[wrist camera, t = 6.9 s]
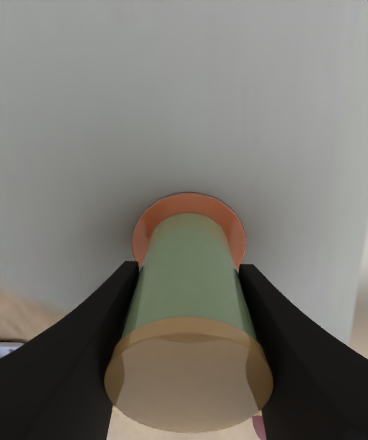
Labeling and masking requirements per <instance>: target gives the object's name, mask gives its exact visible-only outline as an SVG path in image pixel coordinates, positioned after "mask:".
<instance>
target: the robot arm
mask: <svg viewBox="0 0 368 440" xmlns="http://www.w3.org/2000/svg"><path fill="white" fill-rule="evenodd" d="M138 275H139V263H138V261H125V262H124V263H123V264H122V265H121V266H120V267H119V268H118V269H117V270H116V271H115V272H114V273H113V274H112V275H111V276H110V277H109V278H108V279H107V280H106V281H105V282H104V283H103V284H102V285H101V286H100V287H99V288H98V289H97V290H96V291H95V292H94V293H93V294H91V295H90V296H89V297H88V298H87V299H86V300H85V301H84V302H82V303H81V304H80V305H79V306H78V307H77V308H75V309H74V310H73V311H72V312H70V313H69V314H68V315H66V316H65V317H64V318H62V319H61V320H60V321H58V322H57V323H56V324H54V325H53V326H51V327H50V328H48V329H47V330H45V331H44V332H42V333H41V334H39V335H38V336H36V337H35V338H33V339H32V340H30V341H29V342H27V343H25V344H24V343H13V342H0V440H106V439H107V433H108V428H109V423H110V418H111V413H112V408H113V403H112V402H111V401H110V399H109V397H108V395H107V393H106V390H105V385H104V375H105V371H106V368H107V365H108V362H109V358H110V356H111V353H112V351H113V349H114V347H115V346H116V345H117V344H118V341H119V337H120V334H121V331H122V328H123V324H124V321H125V318H126V314H127V311H128V308H129V305H130V301H131V298H132V295H133V291H134V288H135V285H136V282H137V278H138ZM238 276H239V279H240V282H241V285H242V289H243V292H244V295H245V299H246V302H247V305H248V308H249V312H250V315H251V318H252V321H253V325H254V328H255V331H256V335H257V338H258V341H259V344H260V346H261V347H262V349H263V350H264V352H265V354H266V356H267V358H268V362H269V365H270V368H271V371H272V375H273V384H274V385H273V391H272V394H271V397H270V399H269V401H268V402H267V404H266V405H265V406H264V407H263V408H262V409H261V412H262V417H263V423H264V428H265V434H266V440H368V359H366V358H365V357H363V356H362V355H360V354H358V353H357V352H355V351H354V350H352V349H351V348H350V347H348V346H347V345H345V344H344V343H342V342H341V341H339V340H338V339H336V338H335V337H333V336H332V335H331V334H329V333H328V332H327V331H325V330H324V329H323V328H321V327H320V326H319V325H317V324H316V323H315V322H314V321H312V320H311V319H310V318H309V317H307V316H306V315H305V314H304V313H303V312H301V311H300V310H299V309H298V308H297V307H296V306H295V305H293V304H292V303H291V302H290V301H289V300H288V299H287V298H286V297H285V296H284V295H283V294H282V293H281V292H279V291H278V290H277V289H276V288H275V287H274V286H273V285H272V284H271V283H270V281H269V280H268V279H267V278H266V277H265V276H264V275H263V274H262V273H261V272H260V271H259V270H258V269H257V268H256V267H255V266H254V265H253V264H240V267H239V273H238Z"/></svg>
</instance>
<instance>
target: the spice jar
mask: <svg viewBox="0 0 368 440" xmlns="http://www.w3.org/2000/svg"><path fill="white" fill-rule="evenodd" d="M104 385H105V390H106V393H107V395H108V397H109V399H110V401H111V402H112V403H113V404H114V406H115V407H116V408H117V409H118V410H119V411H121V412H122V413H123V414H125V415H126V416H128V417H129V418H131V419H133V420H135V421H137V422H139V423H141V424H144V425H146V426H149V427H152V428H156V429H160V430H165V431H171V432H180V433H201V432H210V431H217V430H221V429H225V428H229V427H232V426H235V425H237V424H240V423H242V422H244V421H246V420H248V419H249V418H251V417H253V416H254V415H255V414H257V413H258V412H259V411H260V410H261V409H262V408H263V407H264V406H265V405H266V404H267V402H268V401H269V399H270V397H271V394H272V391H273V385H274V384H273V375H272V371H271V368H270V365H269V362H268V358H267V356H266V354H265V352H264V350H263V349H262V347H261V346H260V344H259V341H258V338H257V335H256V331H255V328H254V325H253V321H252V318H251V315H250V312H249V308H248V305H247V302H246V299H245V295H244V292H243V289H242V285H241V282H240V279H239V276H238V272H237V269H236V266H235V262H234V259H233V256H232V253H231V249H230V246H229V243H228V240H227V236H226V234H225V232H224V231H223V229H222V228H221V227H220V225H219V224H217V223H216V222H215V221H214V220H212V219H211V218H209V217H206V216H204V215H201V214H196V213H180V214H176V215H173V216H170V217H168V218H166V219H165V220H163V221H162V222H160V223H159V224H158V225H157V226H156V227H155V229H154V230H153V232H152V234H151V236H150V239H149V242H148V245H147V249H146V252H145V255H144V259H143V262H142V265H141V268H140V272H139V275H138V278H137V282H136V285H135V288H134V291H133V295H132V298H131V301H130V305H129V308H128V311H127V314H126V318H125V321H124V324H123V328H122V331H121V334H120V337H119V341H118V344H117V345H116V346H115V347H114V349H113V351H112V353H111V356H110V358H109V362H108V365H107V368H106V371H105V375H104Z"/></svg>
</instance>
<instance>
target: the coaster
mask: <svg viewBox="0 0 368 440" xmlns="http://www.w3.org/2000/svg"><path fill="white" fill-rule="evenodd" d="M180 213H196V214H201V215H204V216H206V217H209V218H211V219H212V220H214V221H215V222H216V223H217V224H219V225H220V227H221V228H222V229H223V231H224V232H225V234H226V236H227V240H228V243H229V246H230V249H231V253H232V256H233V259H234V262H235V266H236V269H238V268H239V266H240V264H241V263H242V260H243V258H244V254H245V250H246V236H245V232H244V229H243V226H242V224H241V222H240V220H239V218H238V217H237V215H236V214H235V213H234V212H233V210H232V209H230V208H229V207H228V206H227V205H226V204H224V203H223V202H221V201H220V200H218V199H216V198H214V197H211V196H208V195H205V194H200V193H178V194H173V195H170V196H167V197H164V198H162V199H160V200H158V201H157V202H155V203H153V204H152V205H151V206H150V207H148V208H147V209H146V211H145V212H144V213H143V214H142V215H141V217H140V218H139V220H138V222H137V224H136V226H135V229H134V232H133V237H132V249H133V254H134V257H135V260H136V261H138V263H139V267H140V268H141V265H142V262H143V259H144V255H145V252H146V249H147V245H148V242H149V239H150V236H151V234H152V232H153V230H154V229H155V227H156V226H157V225H158V224H159V223H160V222H162V221H163V220H165V219H166V218H168V217H170V216H173V215H176V214H180Z"/></svg>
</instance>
